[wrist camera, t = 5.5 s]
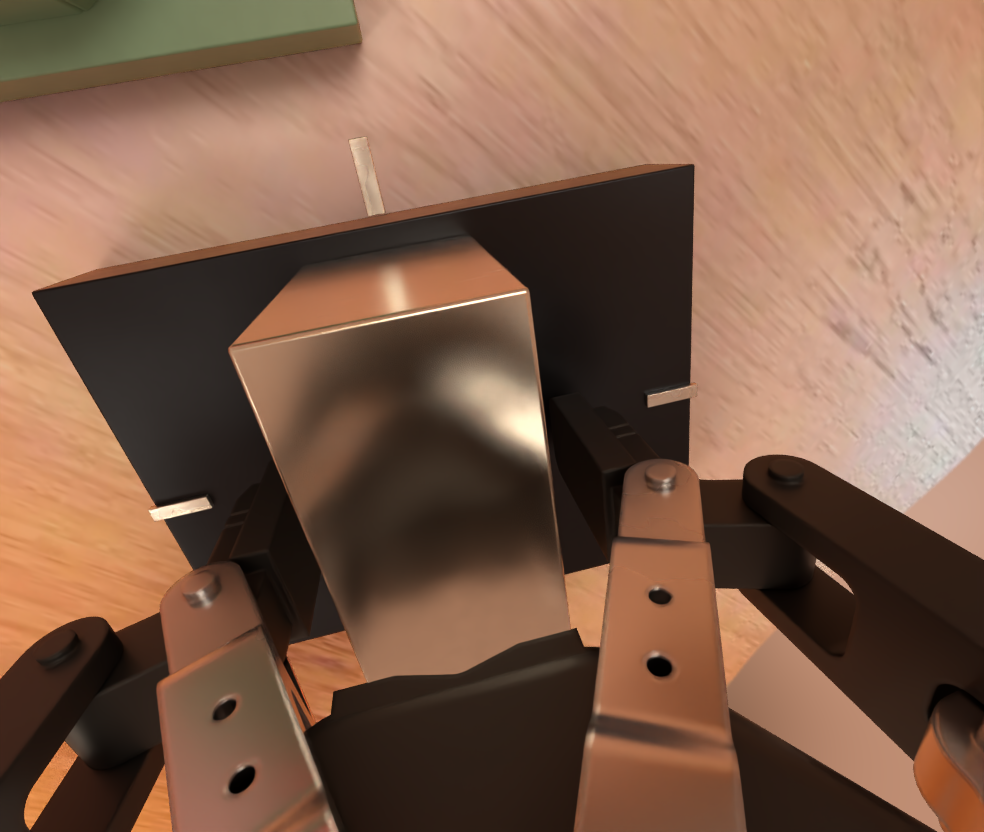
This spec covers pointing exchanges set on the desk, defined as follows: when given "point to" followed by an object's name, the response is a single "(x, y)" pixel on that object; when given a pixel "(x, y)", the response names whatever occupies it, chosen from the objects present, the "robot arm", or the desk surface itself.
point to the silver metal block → (414, 451)
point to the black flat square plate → (277, 259)
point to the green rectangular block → (155, 38)
